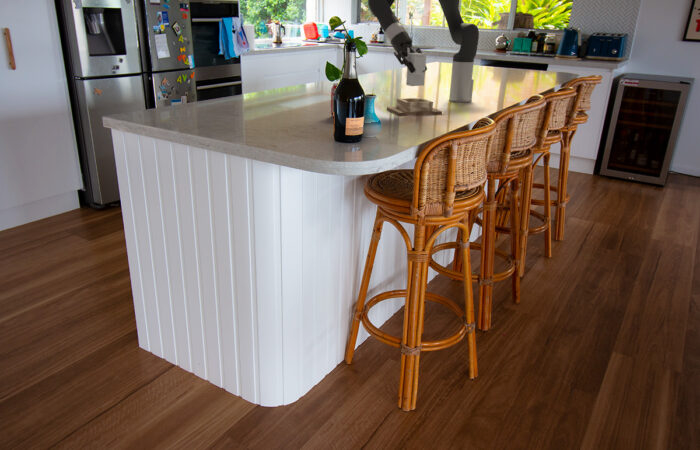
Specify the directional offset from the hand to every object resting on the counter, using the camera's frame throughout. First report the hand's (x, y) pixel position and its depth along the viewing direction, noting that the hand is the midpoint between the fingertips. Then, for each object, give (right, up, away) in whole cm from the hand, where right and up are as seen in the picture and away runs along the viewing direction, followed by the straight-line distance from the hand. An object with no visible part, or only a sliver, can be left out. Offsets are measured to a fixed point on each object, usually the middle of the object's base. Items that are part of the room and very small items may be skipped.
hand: (419, 71), depth 212 cm
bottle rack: (-1, -15, +7) cm, 16 cm away
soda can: (-31, -19, -6) cm, 37 cm away
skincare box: (-1, -5, +3) cm, 6 cm away
